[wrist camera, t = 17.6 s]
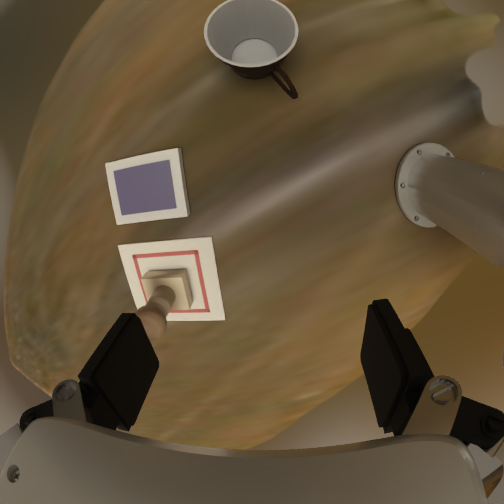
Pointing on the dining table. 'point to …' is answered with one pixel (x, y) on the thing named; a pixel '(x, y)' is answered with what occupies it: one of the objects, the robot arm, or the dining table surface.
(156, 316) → the stamp
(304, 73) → the dining table surface
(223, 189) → the dining table surface
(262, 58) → the coffee mug
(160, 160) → the ink pad
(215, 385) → the dining table surface
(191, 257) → the paper sheet
